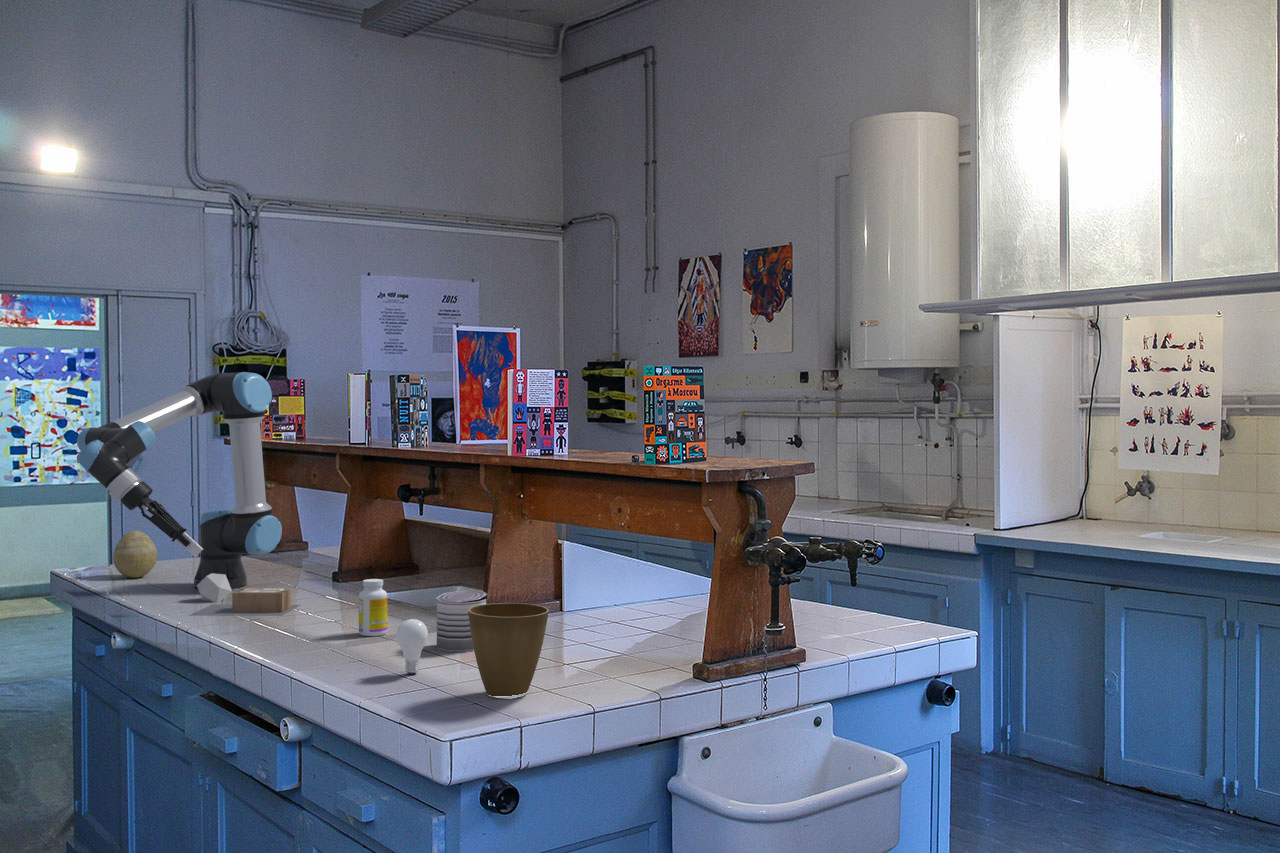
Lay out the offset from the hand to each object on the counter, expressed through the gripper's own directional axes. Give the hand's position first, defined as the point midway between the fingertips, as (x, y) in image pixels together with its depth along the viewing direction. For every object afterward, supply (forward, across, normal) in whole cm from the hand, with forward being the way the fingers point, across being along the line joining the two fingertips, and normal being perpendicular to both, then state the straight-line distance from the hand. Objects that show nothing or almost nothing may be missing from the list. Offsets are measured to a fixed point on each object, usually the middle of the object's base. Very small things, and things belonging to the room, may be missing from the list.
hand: (198, 553), depth 283 cm
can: (+58, +55, +36) cm, 87 cm away
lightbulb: (+50, +80, +28) cm, 98 cm away
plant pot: (+63, +99, +40) cm, 124 cm away
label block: (+16, +1, -2) cm, 16 cm away
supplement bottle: (+44, +37, +21) cm, 61 cm away
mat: (+20, +1, -2) cm, 20 cm away
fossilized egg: (-11, -68, -34) cm, 77 cm away
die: (+12, -16, -10) cm, 23 cm away
